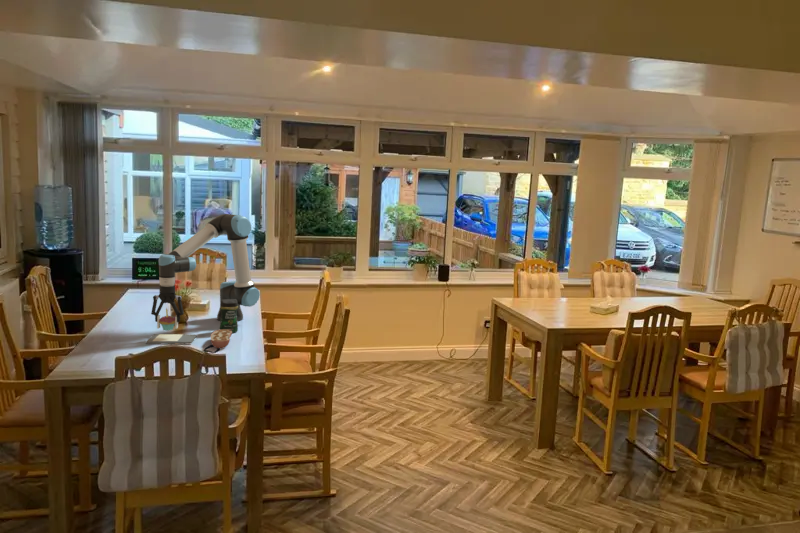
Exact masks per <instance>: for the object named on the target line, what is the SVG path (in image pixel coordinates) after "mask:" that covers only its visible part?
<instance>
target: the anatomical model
mask: <svg viewBox="0 0 800 533" xmlns="http://www.w3.org/2000/svg"><path fill="white" fill-rule="evenodd" d="M232 334H233V333H232V331H231V330H227V329H221V330H220V329H217V330H214V331H213V332H212V333H211V334H210V342H211V345H212V346H213V347H214V348H216V349H219V348H220V349H224V348H226V347H227V346H228V345H229V343H230V342H231V341H230V340H231V336H232Z"/></svg>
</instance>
